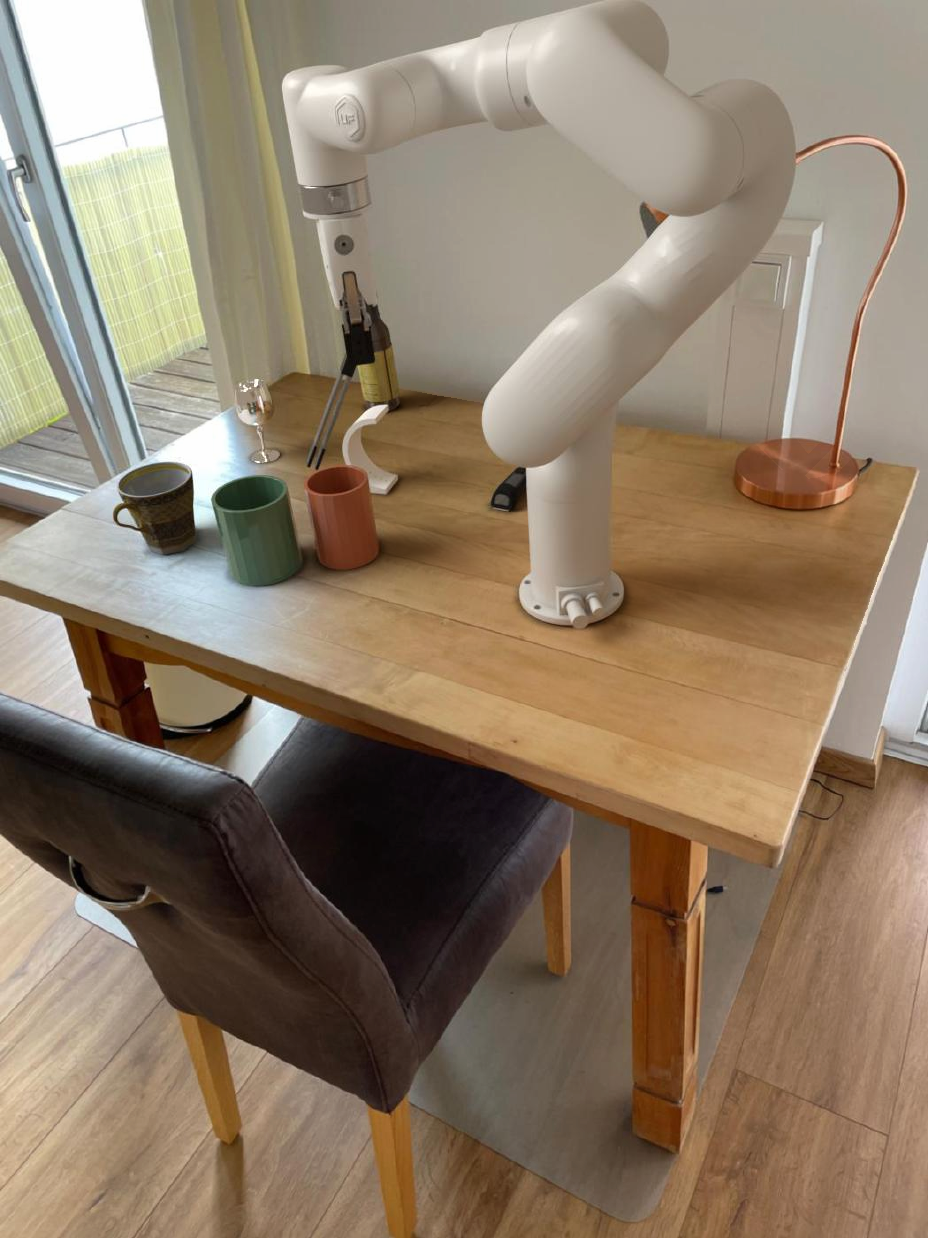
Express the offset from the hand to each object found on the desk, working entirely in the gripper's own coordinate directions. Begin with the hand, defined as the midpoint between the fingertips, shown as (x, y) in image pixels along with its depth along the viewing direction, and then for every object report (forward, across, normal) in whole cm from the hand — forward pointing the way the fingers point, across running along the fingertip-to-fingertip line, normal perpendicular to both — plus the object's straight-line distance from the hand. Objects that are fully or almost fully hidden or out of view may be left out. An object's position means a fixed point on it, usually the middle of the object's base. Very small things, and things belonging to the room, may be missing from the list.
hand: (360, 358), depth 119 cm
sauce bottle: (+26, +46, -3) cm, 53 cm away
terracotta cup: (+26, 0, +6) cm, 27 cm away
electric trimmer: (+27, +11, -20) cm, 35 cm away
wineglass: (+26, +33, +17) cm, 46 cm away
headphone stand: (+27, +18, +1) cm, 32 cm away
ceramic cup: (+26, +9, +31) cm, 41 cm away
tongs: (+13, 0, +4) cm, 14 cm away
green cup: (+26, 0, +17) cm, 31 cm away
